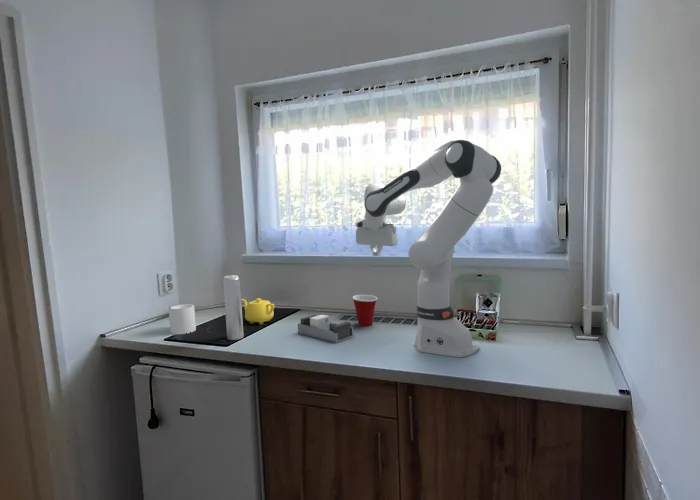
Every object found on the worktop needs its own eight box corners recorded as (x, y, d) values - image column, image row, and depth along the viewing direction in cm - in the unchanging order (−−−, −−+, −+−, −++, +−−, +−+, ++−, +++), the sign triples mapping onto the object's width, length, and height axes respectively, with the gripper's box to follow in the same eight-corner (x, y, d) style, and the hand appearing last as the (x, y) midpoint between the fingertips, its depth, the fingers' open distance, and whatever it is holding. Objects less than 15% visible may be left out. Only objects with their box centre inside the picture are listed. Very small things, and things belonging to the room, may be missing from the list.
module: (330, 330, 176) (329, 316, 176) (318, 334, 172) (317, 319, 171) (322, 328, 180) (321, 314, 179) (310, 332, 175) (309, 317, 174)
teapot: (234, 323, 197) (233, 300, 196) (250, 317, 207) (248, 295, 206) (268, 326, 190) (266, 302, 189) (282, 320, 200) (280, 297, 199)
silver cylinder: (239, 340, 171) (235, 277, 169) (224, 339, 173) (219, 277, 170) (246, 335, 178) (242, 274, 175) (231, 335, 179) (227, 274, 177)
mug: (165, 329, 192) (163, 305, 191) (188, 324, 198) (186, 301, 197) (175, 335, 181) (173, 310, 180) (199, 330, 188) (197, 306, 187)
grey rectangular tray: (353, 336, 170) (353, 322, 169) (336, 343, 163) (335, 327, 162) (315, 327, 185) (315, 314, 184) (298, 333, 178) (297, 319, 177)
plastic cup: (374, 328, 180) (373, 299, 179) (349, 327, 184) (348, 299, 182) (381, 321, 190) (380, 294, 189) (358, 320, 194) (357, 293, 192)
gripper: (400, 222, 178) (401, 256, 179) (362, 222, 192) (364, 254, 193) (390, 223, 173) (391, 258, 174) (352, 223, 187) (354, 255, 189)
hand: (376, 256), depth 184 cm, fingers closed
